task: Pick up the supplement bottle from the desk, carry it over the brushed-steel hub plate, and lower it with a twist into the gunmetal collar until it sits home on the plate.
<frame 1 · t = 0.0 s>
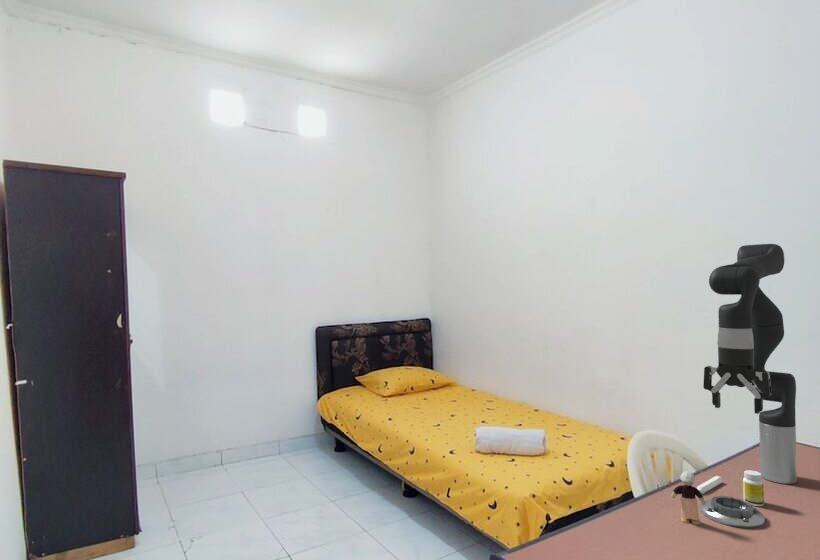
hand: (736, 410, 124), 29 cm above the table, fingers open, 8 cm apart
marker: (707, 490, 147), on the table
supplement bottle: (753, 503, 137), on the table
grandmother figurine: (688, 521, 127), on the table
hub plate: (731, 515, 130), on the table
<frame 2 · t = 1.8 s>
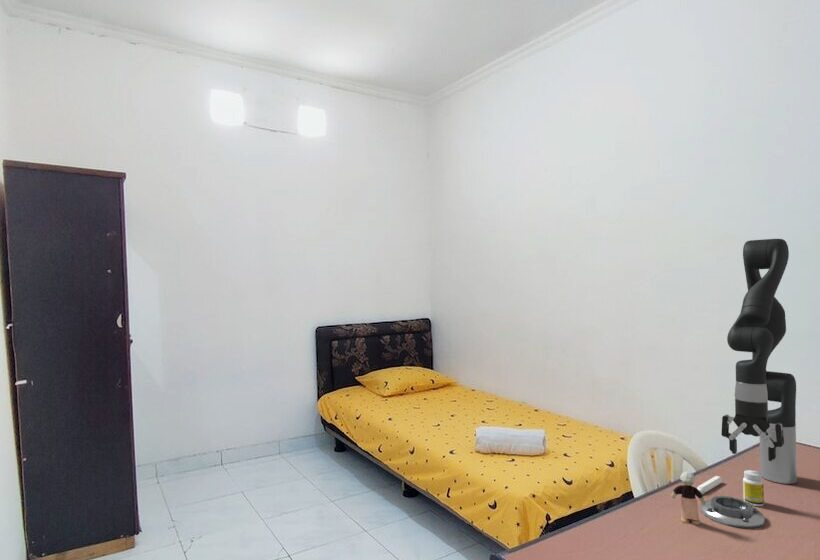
hand: (752, 456, 137), 13 cm above the table, fingers open, 8 cm apart
nothing on the table moved.
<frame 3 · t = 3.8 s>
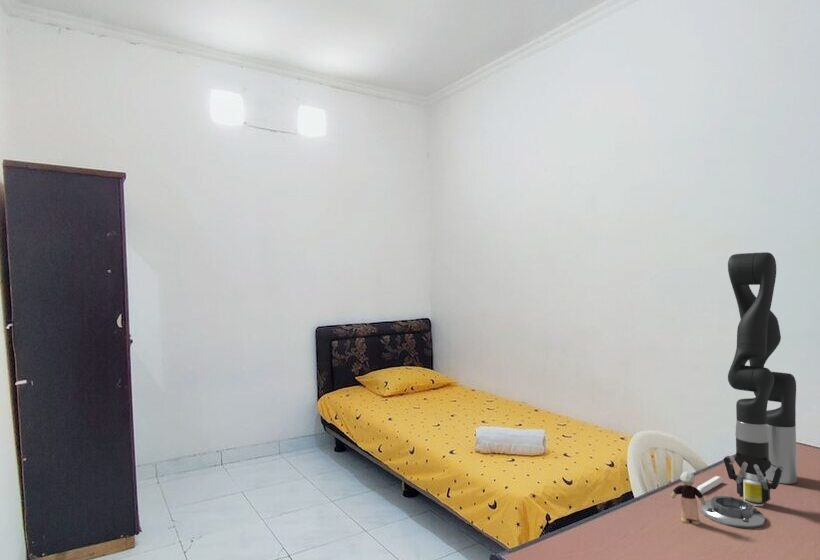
hand: (753, 498, 137), 1 cm above the table, fingers closed on supplement bottle, 4 cm apart
supplement bottle: (753, 503, 137), on the table, touching gripper
everything else where it was.
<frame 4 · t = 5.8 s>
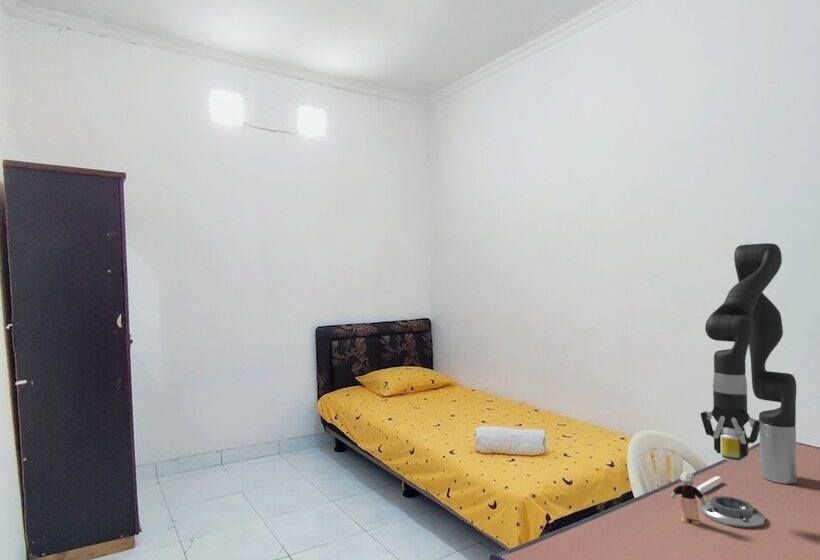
hand: (730, 454, 130), 16 cm above the table, fingers closed on supplement bottle, 4 cm apart
supplement bottle: (731, 460, 130), point 15 cm above the table, touching gripper
everything else where it was.
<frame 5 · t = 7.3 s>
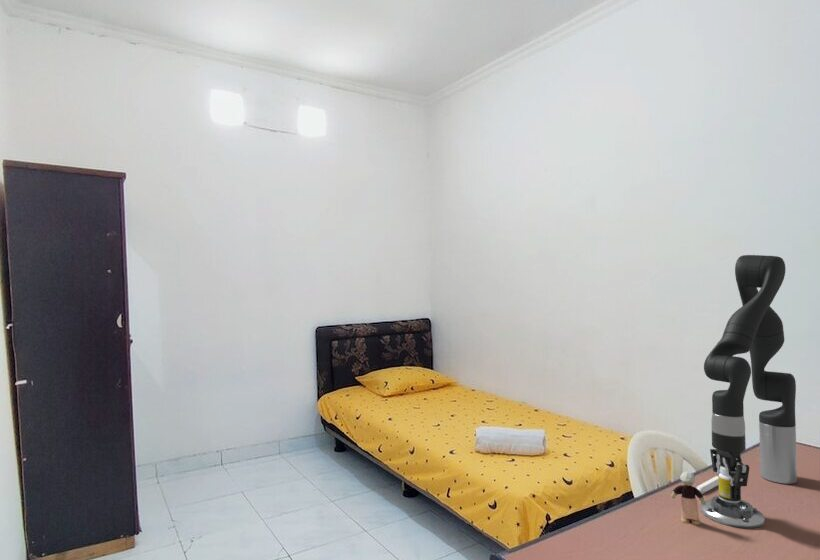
hand: (729, 495, 130), 5 cm above the table, fingers closed on supplement bottle, 4 cm apart
supplement bottle: (729, 500, 130), point 4 cm above the table, touching gripper
everything else where it was.
when the fingers open (4 cm above the table, at t = 8.6 s): supplement bottle drops 1 cm, resting on hub plate.
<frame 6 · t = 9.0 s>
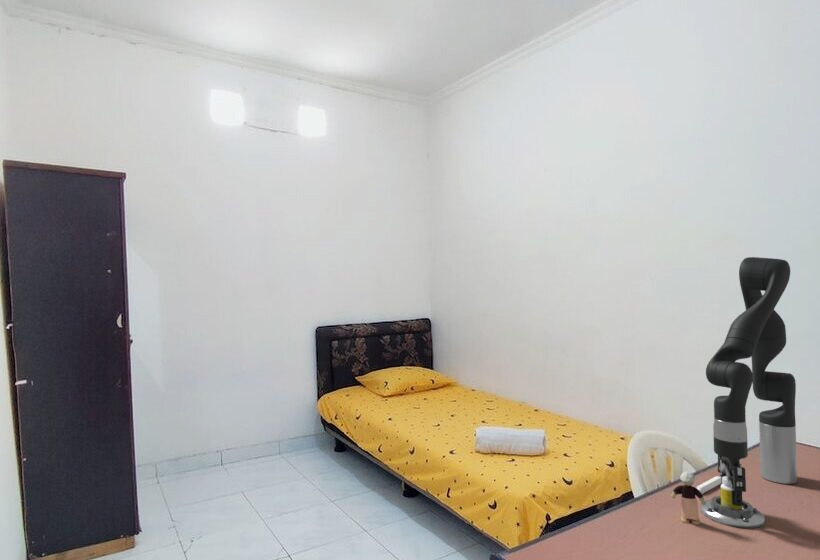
hand: (731, 498, 130), 4 cm above the table, fingers open, 8 cm apart
supplement bottle: (731, 511, 130), point 1 cm above the table, touching hub plate
everything else where it was.
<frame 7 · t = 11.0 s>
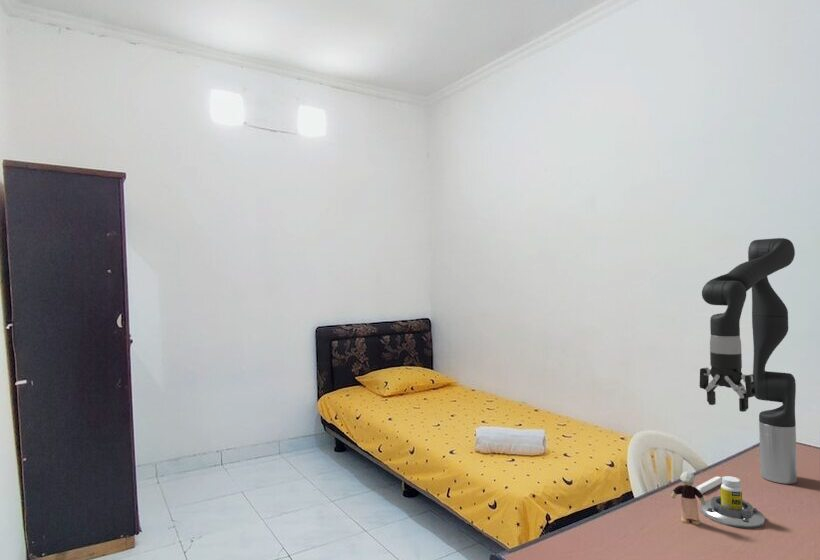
hand: (727, 407, 140), 26 cm above the table, fingers open, 8 cm apart
nothing on the table moved.
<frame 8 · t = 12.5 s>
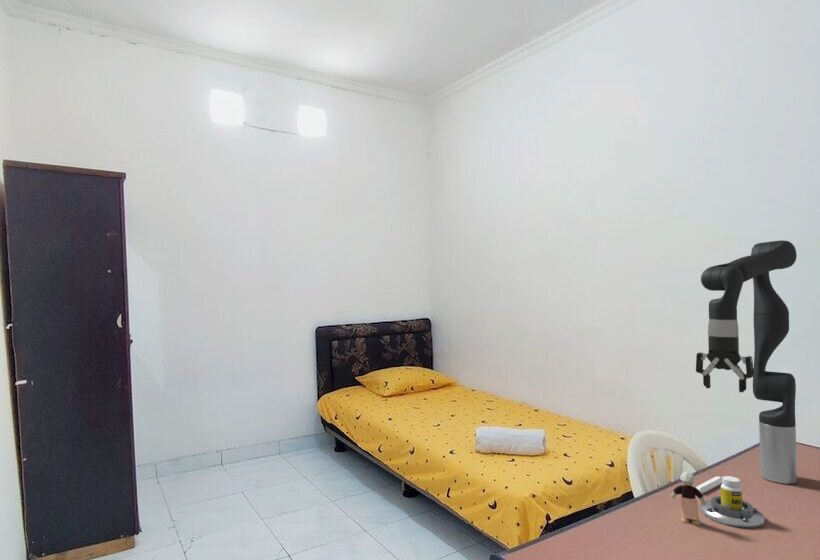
hand: (724, 390, 144), 30 cm above the table, fingers open, 8 cm apart
nothing on the table moved.
at the end: supplement bottle 0.1 cm from the hub plate (horizontally); supplement bottle point 1.0 cm above the table; supplement bottle tilted 0° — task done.
